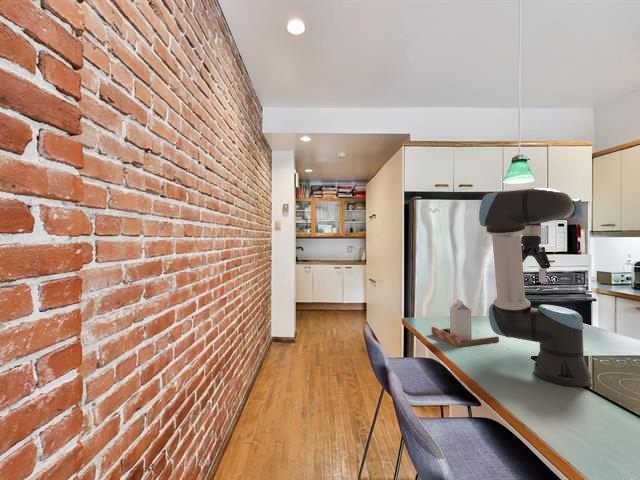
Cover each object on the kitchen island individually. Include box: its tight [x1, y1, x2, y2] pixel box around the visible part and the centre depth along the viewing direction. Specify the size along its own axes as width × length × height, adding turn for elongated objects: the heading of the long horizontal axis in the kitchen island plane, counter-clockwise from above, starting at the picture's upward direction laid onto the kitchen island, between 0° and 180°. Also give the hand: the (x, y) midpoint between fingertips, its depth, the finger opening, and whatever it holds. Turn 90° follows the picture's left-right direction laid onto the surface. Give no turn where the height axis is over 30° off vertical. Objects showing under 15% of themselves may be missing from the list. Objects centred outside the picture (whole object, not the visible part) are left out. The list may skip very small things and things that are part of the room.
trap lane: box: [431, 326, 500, 348], centre depth 145 cm, size 19×22×4 cm
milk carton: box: [449, 298, 473, 341], centre depth 141 cm, size 7×7×19 cm
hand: (530, 282), depth 139 cm, fingers open, 13 cm apart
